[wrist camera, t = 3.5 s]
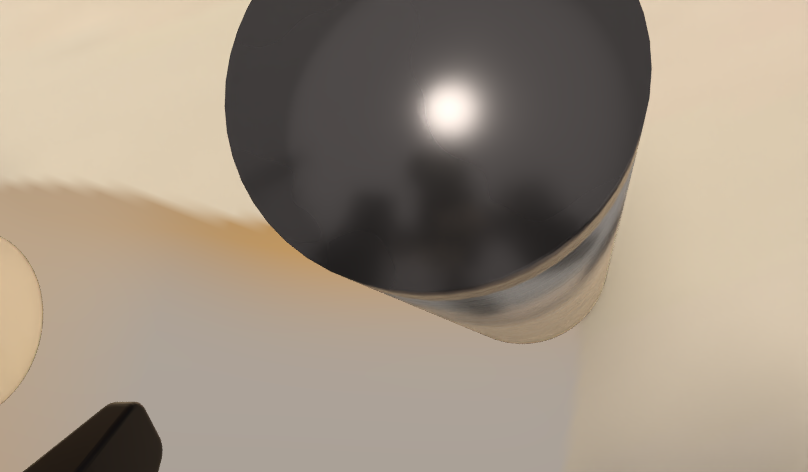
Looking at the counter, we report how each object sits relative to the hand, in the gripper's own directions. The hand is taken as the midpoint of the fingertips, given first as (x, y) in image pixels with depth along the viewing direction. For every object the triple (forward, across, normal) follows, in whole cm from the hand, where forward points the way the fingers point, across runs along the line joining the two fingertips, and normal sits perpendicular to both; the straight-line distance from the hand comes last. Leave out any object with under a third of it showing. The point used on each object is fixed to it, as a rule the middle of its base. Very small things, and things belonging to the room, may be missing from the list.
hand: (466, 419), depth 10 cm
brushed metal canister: (+10, 0, +5) cm, 11 cm away
